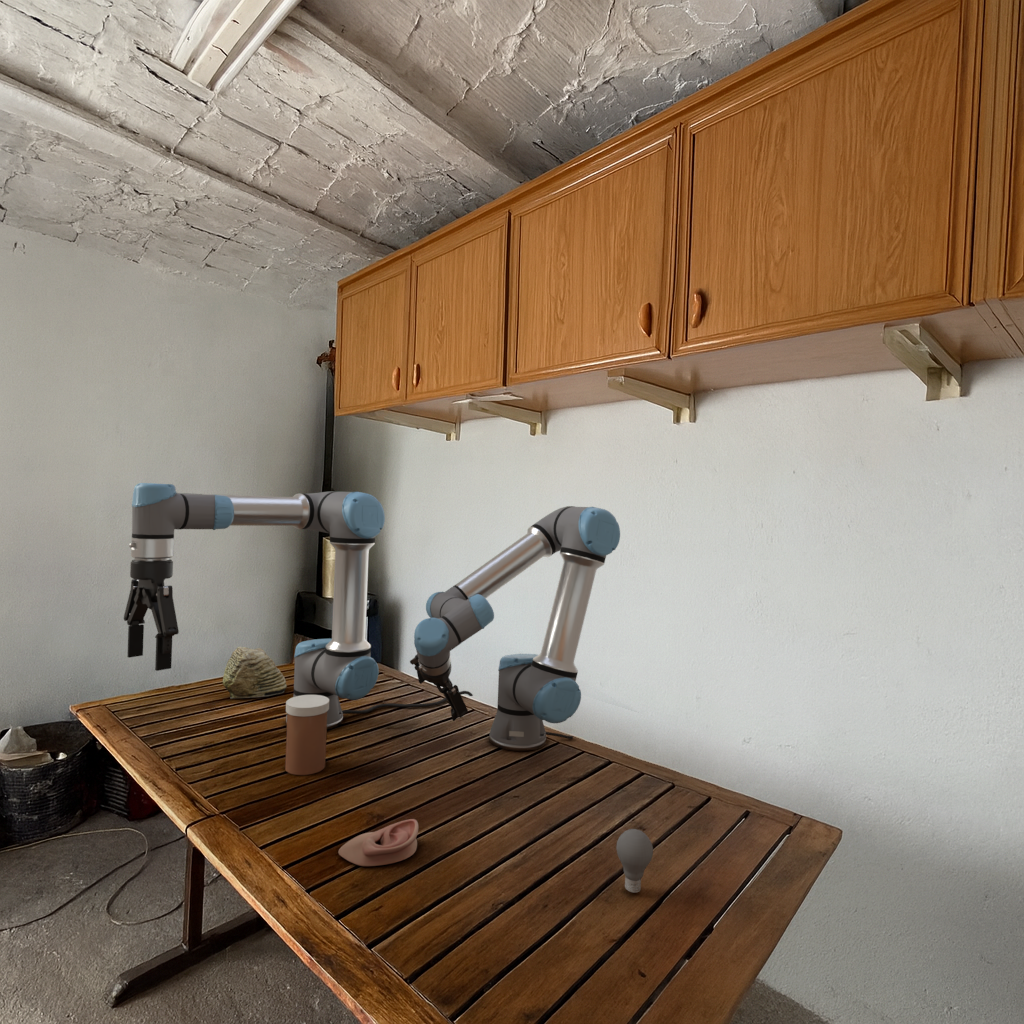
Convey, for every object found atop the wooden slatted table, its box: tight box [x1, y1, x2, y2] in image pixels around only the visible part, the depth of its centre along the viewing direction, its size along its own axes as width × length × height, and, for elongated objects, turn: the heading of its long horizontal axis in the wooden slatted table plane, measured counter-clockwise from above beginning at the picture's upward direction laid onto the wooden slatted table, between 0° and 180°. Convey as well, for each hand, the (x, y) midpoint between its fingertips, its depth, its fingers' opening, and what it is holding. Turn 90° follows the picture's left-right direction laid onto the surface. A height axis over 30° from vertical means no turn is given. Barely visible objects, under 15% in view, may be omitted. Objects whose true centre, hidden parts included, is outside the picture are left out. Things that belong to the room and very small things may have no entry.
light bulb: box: [615, 828, 654, 894], centre depth 106 cm, size 6×6×10 cm
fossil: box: [222, 646, 288, 699], centre depth 198 cm, size 9×18×15 cm, turn 132°
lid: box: [285, 695, 329, 717], centre depth 148 cm, size 10×10×2 cm
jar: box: [284, 712, 328, 776], centre depth 148 cm, size 9×9×15 cm
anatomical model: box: [337, 818, 419, 867], centre depth 114 cm, size 13×4×12 cm
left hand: (148, 662), depth 129 cm, fingers open, 13 cm apart
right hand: (440, 698), depth 166 cm, fingers open, 13 cm apart
